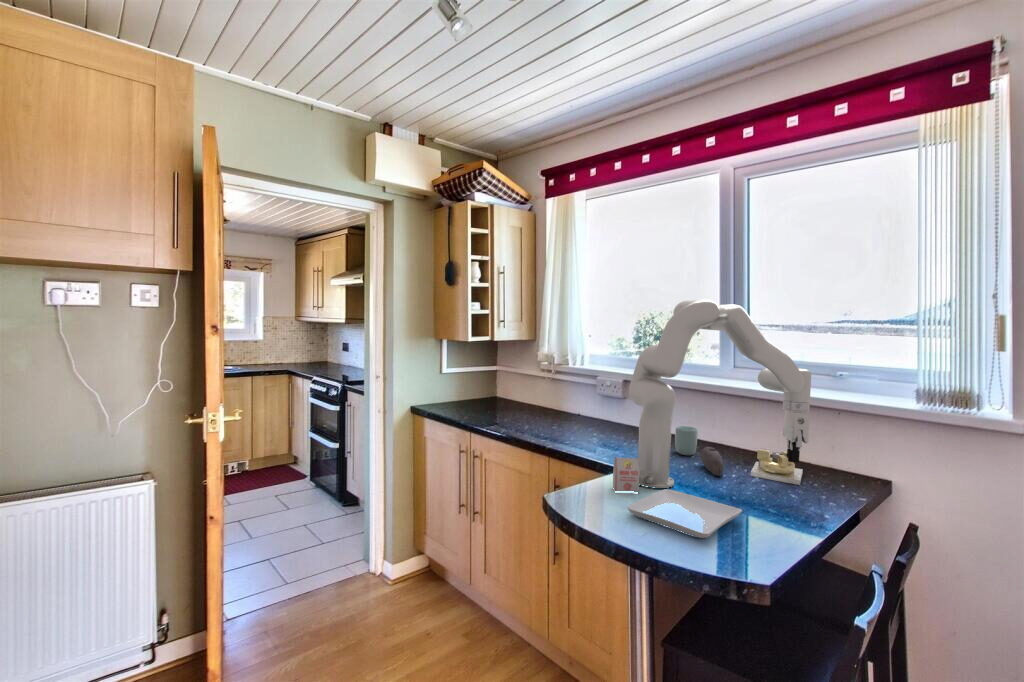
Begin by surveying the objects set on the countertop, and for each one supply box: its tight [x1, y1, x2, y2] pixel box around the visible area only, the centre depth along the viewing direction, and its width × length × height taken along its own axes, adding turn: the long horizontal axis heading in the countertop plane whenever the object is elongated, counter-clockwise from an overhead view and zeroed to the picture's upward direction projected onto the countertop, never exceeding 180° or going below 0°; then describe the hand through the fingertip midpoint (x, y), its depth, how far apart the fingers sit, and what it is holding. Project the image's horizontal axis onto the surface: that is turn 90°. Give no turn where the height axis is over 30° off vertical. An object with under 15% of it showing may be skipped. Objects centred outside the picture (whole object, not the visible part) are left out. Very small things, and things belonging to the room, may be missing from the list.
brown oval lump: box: [700, 446, 725, 477], centre depth 162 cm, size 15×5×7 cm, turn 171°
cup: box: [674, 425, 699, 457], centre depth 183 cm, size 8×8×10 cm
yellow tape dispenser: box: [756, 448, 796, 474], centre depth 161 cm, size 11×11×6 cm
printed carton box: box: [612, 456, 640, 493], centre depth 141 cm, size 4×7×10 cm, turn 88°
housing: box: [750, 448, 803, 486], centre depth 161 cm, size 14×14×7 cm
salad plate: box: [626, 488, 743, 539], centre depth 123 cm, size 21×21×3 cm
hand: (792, 461), depth 159 cm, fingers closed
